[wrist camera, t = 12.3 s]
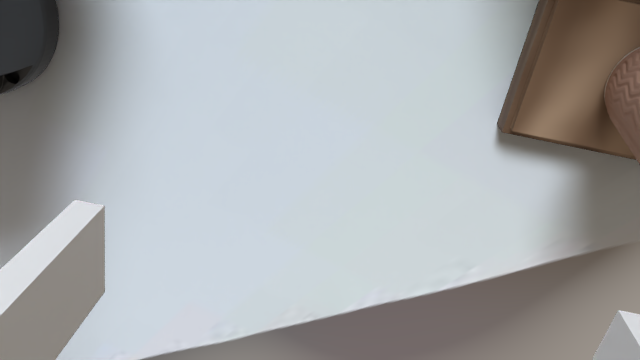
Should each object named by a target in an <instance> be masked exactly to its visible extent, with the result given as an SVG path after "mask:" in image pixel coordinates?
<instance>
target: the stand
mask: <svg viewBox="0 0 640 360" xmlns="http://www.w3.org/2000/svg"><path fill="white" fill-rule="evenodd" d="M639 47H640V0H539V2H538V5H537V8H536V11H535V14H534V17H533V20H532V23H531V26H530V29H529V32H528V35H527V38H526V40H525V43H524V46H523V49H522V52H521V55H520V58H519V61H518V64H517V67H516V70H515V73H514V75H513V78H512V81H511V84H510V87H509V90H508V93H507V96H506V99H505V102H504V105H503V108H502V111H501V113H500V116H499V119H498V122H497V124H498V126H499V127H500V129H501V131H502V132H504V133H508V134H513V135H518V136H523V137H528V138H533V139H538V140H543V141H547V142H552V143H557V144H562V145H567V146H572V147H577V148H582V149H586V150H591V151H596V152H601V153H606V154H611V155H616V156H621V157H625V158H630V159H635V160H636V158H635V156H634V154H633V153H632V152H631V150H630V149H629V147H628V146H627V144H626V142H625V141H624V139H623V138H622V136H621V135H620V133H619V132H618V130H617V129H616V127H615V125H614V124H613V122H612V121H611V119H610V116H609V114H608V112H607V108H606V105H605V98H604V94H605V86H606V83H607V79H608V77H609V75H610V73H611V71H612V70H613V69H614V67H615V66H616V65H617V63H618V62H619V61H620V60H621V59H622V58H623V57H625V56H626V55H627V54H629V53H630V52H631V51H633V50H634V49H637V48H639Z"/></svg>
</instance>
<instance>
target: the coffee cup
mask: <svg viewBox="0 0 640 360" xmlns="http://www.w3.org/2000/svg"><path fill="white" fill-rule="evenodd" d="M604 98H605V105H606V108H607V112H608V114H609V116H610V119H611V121H612V122H613V124H614V125H615V127H616V129H617V130H618V132H619V133H620V135H621V136H622V138H623V139H624V141H625V142H626V144H627V146H628V147H629V149H630V150H631V152H632V153H633V154H634V156H635V158H636V160H637V161H638V163H639V164H640V47H639V48H637V49H634V50H633V51H631V52H630V53H629V54H627V55H626V56H625V57H623V58H622V59H621V60H620V61H619V62H618V63H617V65H616V66H615V67H614V69H613V70H612V71H611V73H610V75H609V77H608V79H607V83H606V86H605V94H604Z"/></svg>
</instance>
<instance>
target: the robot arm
mask: <svg viewBox="0 0 640 360" xmlns="http://www.w3.org/2000/svg"><path fill="white" fill-rule="evenodd" d="M58 30H59V21H58V11H57V6H56V1H55V0H0V94H4V93H7V92H10V91H12V90H14V89H17V88H19V87H21V86H23V85H25V84H27V83H29V82H31V81H32V80H34V79H35V78H36V77H37V76H39V75H40V74H41V73H42V72H43V70H44V69H45V68H46V67H47V65H48V64H49V62H50V60H51V58H52V56H53V54H54V51H55V48H56V44H57V39H58ZM104 292H105V211H104V205H99V204H94V203H89V202H84V201H79V200H74V201H73V202H72V203H71V204H70V205H69V206H68V207H67V208H65V209H64V210H63V211H62V212H61V213H60V214H59V215H58V216H57V217H56V218H55V219H54V220H53V221H52V222H50V223H49V224H48V225H47V226H46V227H45V228H44V229H43V230H42V231H41V232H40V233H39V234H38V235H37V236H36V237H34V238H33V239H32V240H31V241H30V242H29V243H28V244H27V245H26V246H25V247H24V248H23V249H22V250H21V251H19V252H18V253H17V254H16V255H15V256H14V257H13V258H12V259H11V260H10V261H9V262H8V263H7V264H6V265H4V266H3V267H2V268H1V269H0V360H55V359H56V358H57V357H58V355H59V354H60V352H61V351H62V350H63V348H64V347H65V346H66V344H67V343H68V341H69V340H70V339H71V337H72V336H73V335H74V333H75V332H76V331H77V329H78V328H79V326H80V325H81V324H82V322H83V321H84V320H85V318H86V317H87V316H88V314H89V313H90V311H91V310H92V309H93V307H94V306H95V305H96V303H97V302H98V300H99V299H100V298H101V296H102V295H103V294H104ZM592 360H640V314H635V313H630V312H625V311H620V310H618V311H617V313H616V315H615V317H614V319H613V321H612V323H611V325H610V327H609V328H608V330H607V332H606V334H605V336H604V338H603V340H602V342H601V344H600V346H599V347H598V349H597V351H596V353H595V355H594V357H593V359H592Z"/></svg>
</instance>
